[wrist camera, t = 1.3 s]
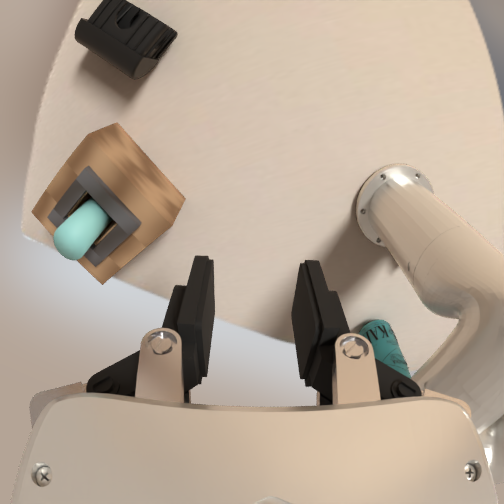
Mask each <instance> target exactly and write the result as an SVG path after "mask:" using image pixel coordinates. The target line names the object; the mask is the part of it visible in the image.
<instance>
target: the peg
mask: <svg viewBox="0 0 504 504" xmlns="http://www.w3.org/2000/svg"><path fill="white" fill-rule="evenodd" d="M111 221H112V218H111V217H110V216H109V214H108V213H107V212H106V211H105V210H104V209H103V208H102V207H101V206H100V205H99V204H98V203H97V202H96V201H95V200H94V198H93V197H91V198H90V199H88V200H87V201H86V202H85V203H84V204H83V205H82V206H81V207H80V208H78V209H77V210H76V211H75V212H74V213H73V214H72V215H71V216H70V217H69V218H68V219H67V220H66V221H65V222H64V223H62V224H61V225H60V226H59V227H58V228H57V229H56V231H55V233H54V244H55V246H56V248H57V250H58V251H59V253H60V254H61V255H62V256H64V257H65V258H67V259H70V260H78V259H80V258H82V256H83V255H84V254H85V253H86V251H87V250H88V249H89V247H90V246H91V245H92V244H93V242H94V241H95V240H96V239H97V237H98V236H99V235H100V234H101V233H102V231H103V230H104V229H105V228H106V227H107V225H108V224H109V223H110V222H111Z"/></svg>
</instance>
